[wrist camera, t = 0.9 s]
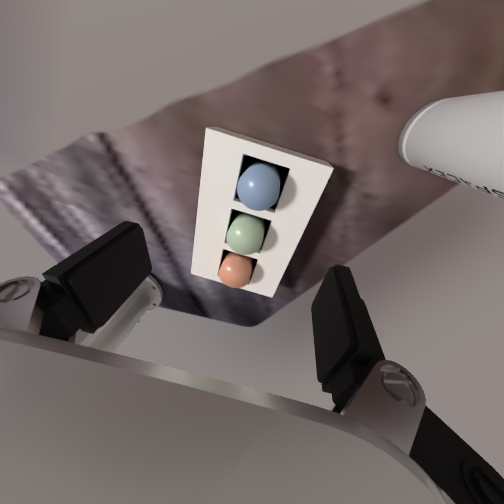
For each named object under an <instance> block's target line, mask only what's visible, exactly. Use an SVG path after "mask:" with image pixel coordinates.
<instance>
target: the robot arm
mask: <svg viewBox="0 0 504 504" xmlns="http://www.w3.org/2000/svg"><path fill="white" fill-rule="evenodd" d="M151 270H152V266H151V262H150V258H149V253H148V249H147V245H146V240H145V236H144V232H143V229H142V227H140V225H139V224H138V223H134V222H129V221H124V222H122V223H121V224H119V225H117V226H116V227H114V228H113V229H111V230H110V231H108V232H107V233H105V234H103V235H102V236H100V237H99V238H97V239H96V240H94V241H92V242H91V243H89V244H88V245H86V246H85V247H83V248H82V249H80V250H78V251H77V252H75V253H74V254H72V255H71V256H69V257H68V258H66V259H64V260H63V261H61V262H60V263H58V264H57V265H55V266H53V267H52V268H50V269H49V270H47V271H46V272H44V273H43V274H42V275H43V276H44V278H45V279H46V280H45V281H43V282H41V281H40V280H39V279H38V278H35V277H28V276H26V277H18V278H15V279H11V280H8V281H5V282H3V283H1V284H0V504H504V479H503V478H502V477H501V476H500V474H499V473H498V472H496V470H495V469H494V468H493V467H492V466H491V465H489V463H487V462H486V461H485V460H484V459H483V458H482V457H481V456H480V455H479V454H478V453H477V452H475V451H474V450H473V449H472V448H471V447H470V446H469V445H468V444H467V443H466V442H465V441H464V440H463V439H461V438H460V437H459V436H458V435H457V434H456V433H455V432H454V431H453V430H452V429H451V428H450V427H448V426H447V425H446V424H445V423H444V422H443V421H442V420H441V419H440V418H439V417H438V416H437V415H436V414H434V413H433V412H432V411H431V410H430V409H429V408H428V407H427V406H426V405H425V404H426V398H425V394H424V391H423V389H422V387H421V386H420V384H419V382H418V381H417V380H416V378H415V377H414V376H413V375H412V374H411V373H410V372H409V371H408V370H407V369H406V368H404V367H403V366H401V365H400V364H398V363H396V362H393V361H390V360H386V359H385V357H384V354H383V351H382V348H381V346H380V343H379V340H378V337H377V335H376V332H375V329H374V327H373V324H372V321H371V319H370V316H369V314H368V311H367V308H366V305H365V303H364V301H363V300H362V299H361V298H360V295H359V293H358V290H357V287H356V284H355V281H354V279H353V276H352V273H351V270H350V268H349V267H346V266H341V265H335V266H334V267H330V268H329V270H328V272H327V274H326V276H325V278H324V280H323V282H322V285H321V287H320V289H319V291H318V293H317V295H316V297H315V299H314V301H313V303H312V308H311V312H312V321H313V322H312V323H313V334H314V346H315V357H316V368H317V378H318V381H319V382H320V383H322V390H323V392H327V393H331V394H332V399H333V402H334V403H335V404H334V405H333V407H332V408H331V409H330V411H329V410H326V409H323V408H320V407H317V406H314V405H310V404H307V403H303V402H300V401H296V400H292V399H289V398H285V397H282V396H278V395H274V394H271V393H267V392H263V391H259V390H255V389H252V388H248V387H244V386H240V385H236V384H232V383H228V382H225V381H221V380H217V379H213V378H209V377H205V376H201V375H198V374H194V373H190V372H186V371H182V370H178V369H174V368H170V367H166V366H162V365H158V364H154V363H151V362H147V361H143V360H138V359H135V358H131V357H127V356H122V355H119V354H115V352H116V351H117V349H118V348H119V347H120V345H121V344H122V343H123V341H124V340H125V339H126V337H127V335H128V334H129V333H130V332H131V330H132V329H133V328H134V326H135V325H136V323H138V322H139V320H140V318H141V317H142V315H143V314H144V313H145V311H146V310H151V309H154V308H156V307H158V306H159V305H160V303H161V302H162V300H163V291H162V288H161V286H160V285H159V283H158V282H157V281H156V280H155V279H154V277H152V276H151V275H150V273H151Z"/></svg>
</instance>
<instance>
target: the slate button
mask: <svg viewBox="0 0 504 504" xmlns="http://www.w3.org/2000/svg"><path fill="white" fill-rule="evenodd" d="M279 192H280V174H279V172H278V170H277V168H276V167H275V166H274V165H272V164H271V163H269V162H266V161H258V162H255V163H253V164H251V165H250V166H249V167H248V168H247V170H246V171H245V172H244V173H243V175H242V176H241V177H240V179H239V181H238V185H237V193H238V196H239V199H240V201H241V202H242V203H243V204H244V205H245V206H246V207H247V208H249V209H251V210H255V211H263V210H266V209H268V208H270V207H271V206H273V205H274V204H275V202H276V201H277V199H278V197H279Z"/></svg>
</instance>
